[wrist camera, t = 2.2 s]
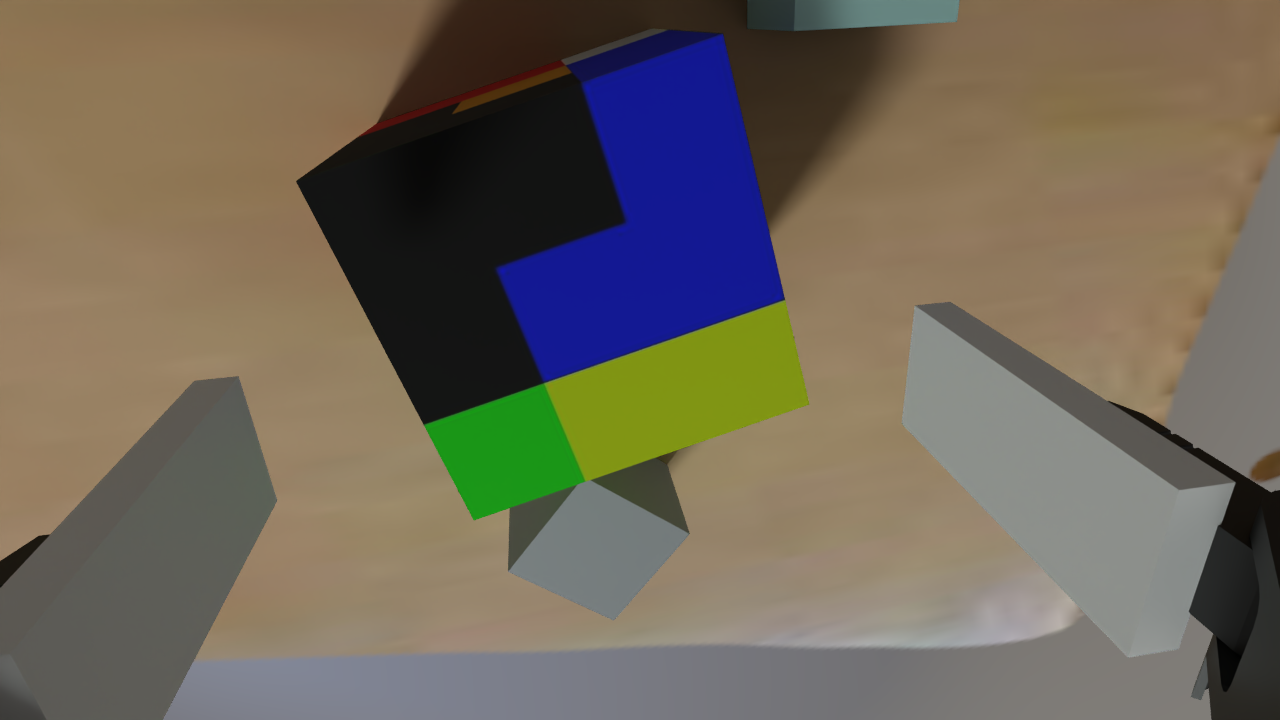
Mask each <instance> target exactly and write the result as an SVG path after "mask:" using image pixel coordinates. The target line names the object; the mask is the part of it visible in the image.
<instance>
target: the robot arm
mask: <svg viewBox="0 0 1280 720" xmlns="http://www.w3.org/2000/svg"><path fill="white" fill-rule="evenodd" d="M902 424H903V425H904V427H905V428H906V429H907V430H908V431H909V432H910V433H911V434H912V435H913V436H914V437H915V438H916V439H917V440H918V441H919V442H920V443H921V444H922V445H923V446H924V447H925V448H926V449H927V450H928V451H929V452H930V453H931V454H932V455H933V457H934V458H935V459H936V460H937V461H938V462H939V463H940V464H941V465H942V466H943V467H944V468H945V469H946V470H947V471H948V472H949V473H950V474H951V475H952V476H953V477H954V478H955V479H956V480H957V481H958V482H959V483H960V484H961V485H962V487H963V488H964V489H965V490H966V491H967V492H968V493H969V494H970V495H971V496H972V497H973V498H974V499H975V500H976V501H977V502H978V503H979V504H980V505H981V506H982V507H983V508H984V509H985V510H986V511H987V512H988V513H989V514H990V515H991V516H992V518H993V519H994V520H995V521H996V522H997V523H998V524H999V525H1000V526H1001V527H1002V528H1003V529H1004V530H1005V531H1006V532H1007V533H1008V534H1009V535H1010V536H1011V537H1012V538H1013V539H1014V540H1015V541H1016V542H1017V543H1018V544H1019V545H1020V546H1021V548H1022V549H1023V550H1024V551H1025V552H1026V553H1027V554H1028V555H1029V556H1030V557H1031V558H1032V559H1033V560H1034V561H1035V562H1036V563H1037V564H1038V565H1039V566H1040V567H1041V568H1042V569H1043V570H1044V571H1045V572H1046V573H1047V574H1048V575H1049V576H1050V578H1051V579H1052V580H1053V581H1054V582H1055V583H1056V584H1057V585H1058V586H1059V587H1060V588H1061V589H1062V590H1063V591H1064V592H1065V593H1066V594H1067V595H1068V596H1069V597H1070V598H1071V599H1072V600H1073V601H1074V602H1075V603H1076V604H1077V605H1078V606H1079V608H1080V609H1081V610H1082V611H1083V612H1084V613H1085V614H1086V615H1087V616H1088V617H1089V618H1090V619H1091V620H1092V621H1093V622H1094V623H1095V624H1096V625H1097V626H1098V627H1099V628H1100V629H1101V630H1102V631H1103V632H1104V633H1105V634H1106V635H1107V636H1108V638H1109V639H1111V641H1112V642H1113V643H1114V644H1115V645H1116V646H1117V647H1118V648H1119V649H1120V650H1121V651H1122V652H1123V653H1124V654H1125V655H1126V656H1127V657H1128V658H1129V657H1135V656H1140V655H1147V654H1153V653H1159V652H1165V651H1171V650H1177V649H1179V646H1180V643H1181V640H1182V637H1183V635H1184V632H1185V629H1186V626H1187V623H1188V619H1189V617H1190V614H1191V615H1193V616H1194V617H1195V618H1196V619H1197V620H1198V621H1200V622H1201V623H1202V624H1203V625H1204V626H1205V627H1207V628H1208V629H1209V630H1210V631H1211V632H1212V633H1213V636H1212V639H1211V642H1210V645H1209V648H1208V650H1207V653H1206V656H1205V658H1204V661H1203V664H1202V666H1201V669H1200V672H1199V675H1198V678H1197V680H1196V683H1195V686H1194V689H1193V692H1192V696H1191V697H1193V698H1196V699H1199V700H1201V699H1202V696H1203V693H1204V691H1205V690H1206V689H1208V688H1209V695H1210V707H1211V719H1212V720H1280V490H1278V491H1274V492H1269V491H1268V490H1266V489H1264V488H1263V487H1261V486H1260V485H1258V484H1256V483H1255V482H1253V481H1252V480H1250V479H1248V478H1246V477H1245V476H1243V475H1242V474H1240V473H1238V472H1237V471H1235V470H1233V469H1232V468H1230V467H1229V466H1227V465H1226V464H1224V463H1222V462H1221V461H1219V460H1217V459H1216V458H1214V457H1213V456H1211V455H1209V454H1208V453H1206V452H1204V451H1203V450H1201V449H1200V448H1193V444H1191V443H1190V442H1188V441H1187V440H1185V439H1183V438H1182V437H1180V436H1178V435H1176V434H1171V431H1170V430H1169V429H1167V428H1165V427H1164V426H1162V425H1161V424H1159V423H1157V422H1156V421H1154V420H1153V419H1151V418H1149V417H1148V416H1146V415H1144V414H1142V413H1139V412H1137V411H1134V410H1132V409H1129V408H1126V407H1124V406H1121V405H1118V404H1116V403H1113V402H1110V401H1106V400H1105V399H1103V398H1101V397H1100V396H1098V395H1097V394H1095V393H1094V392H1092V391H1090V390H1089V389H1087V388H1086V387H1084V386H1083V385H1081V384H1079V383H1078V382H1076V381H1075V380H1073V379H1071V378H1070V377H1068V376H1067V375H1065V374H1064V373H1062V372H1060V371H1059V370H1057V369H1056V368H1054V367H1052V366H1051V365H1049V364H1048V363H1046V362H1045V361H1043V360H1041V359H1040V358H1038V357H1037V356H1035V355H1034V354H1032V353H1030V352H1029V351H1027V350H1026V349H1024V348H1022V347H1021V346H1019V345H1018V344H1016V343H1015V342H1013V341H1011V340H1010V339H1008V338H1007V337H1005V336H1003V335H1002V334H1000V333H999V332H997V331H996V330H994V329H992V328H991V327H989V326H988V325H986V324H984V323H983V322H981V321H980V320H978V319H977V318H975V317H973V316H972V315H970V314H969V313H967V312H966V311H964V310H962V309H961V308H959V307H958V306H956V305H954V304H953V303H951V302H945V303H935V304H925V305H916V306H915V309H914V318H913V327H912V336H911V345H910V354H909V363H908V372H907V381H906V390H905V399H904V408H903V417H902ZM276 502H277V498H276V495H275V492H274V489H273V486H272V482H271V479H270V476H269V473H268V470H267V466H266V463H265V460H264V457H263V453H262V450H261V447H260V444H259V441H258V437H257V434H256V431H255V428H254V425H253V421H252V418H251V415H250V412H249V409H248V405H247V402H246V399H245V396H244V393H243V389H242V386H241V383H240V380H239V376H236V377H227V378H217V379H208V380H198V381H194V382H193V383H192V384H191V385H190V386H189V387H188V388H187V389H186V390H185V391H184V393H183V394H182V395H181V396H180V397H179V398H178V399H177V400H176V401H175V402H174V403H173V404H172V405H171V406H170V407H169V409H168V410H167V411H166V412H165V413H164V414H163V415H162V416H161V417H160V418H159V419H158V420H157V421H156V422H155V423H154V425H153V426H152V427H151V428H150V429H149V430H148V431H147V432H146V433H145V434H144V435H143V436H142V437H141V438H140V439H139V441H138V442H137V443H136V444H135V445H134V446H133V447H132V448H131V449H130V450H129V451H128V452H127V453H126V454H125V455H124V457H123V458H122V459H121V460H120V461H119V462H118V463H117V464H116V465H115V466H114V467H113V468H112V469H111V470H110V471H109V473H108V474H107V475H106V476H105V477H104V478H103V479H102V480H101V481H100V482H99V483H98V484H97V485H96V486H95V487H94V489H93V490H92V491H91V492H90V493H89V494H88V495H87V496H86V497H85V498H84V499H83V500H82V501H81V502H80V503H79V505H78V506H77V507H76V508H75V509H74V510H73V511H72V512H71V513H70V514H69V515H68V516H67V517H66V518H65V519H64V521H63V522H62V523H61V524H60V525H59V526H58V527H57V528H56V529H55V530H54V531H53V532H52V533H51V534H50V535H42V536H38V537H36V538H35V539H33V540H32V541H30V542H29V543H27V544H26V545H24V546H23V547H21V548H20V549H18V550H17V551H15V552H14V553H12V554H10V555H9V556H7V557H6V558H4V559H3V560H1V561H0V720H163V718H164V716H165V715H166V713H167V711H168V709H169V707H170V705H171V703H172V701H173V699H174V697H175V695H176V693H177V691H178V690H179V688H180V686H181V684H182V682H183V680H184V678H185V676H186V674H187V672H188V670H189V669H190V666H191V665H192V663H193V661H194V659H195V657H196V655H197V653H198V651H199V649H200V647H201V646H202V644H203V642H204V640H205V638H206V636H207V634H208V632H209V630H210V628H211V626H212V625H213V623H214V621H215V619H216V617H217V615H218V613H219V611H220V609H221V607H222V605H223V603H224V602H225V600H226V598H227V596H228V594H229V592H230V590H231V588H232V586H233V584H234V582H235V580H236V579H237V577H238V575H239V573H240V571H241V569H242V567H243V565H244V563H245V561H246V559H247V557H248V556H249V554H250V552H251V550H252V548H253V546H254V544H255V542H256V540H257V538H258V536H259V534H260V533H261V531H262V529H263V527H264V525H265V523H266V521H267V519H268V517H269V515H270V513H271V511H272V510H273V508H274V506H275V504H276Z"/></svg>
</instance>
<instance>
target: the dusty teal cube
mask: <svg viewBox="0 0 1280 720" xmlns="http://www.w3.org/2000/svg"><path fill="white" fill-rule="evenodd" d="M958 8H959V0H747V29H762V30H782V31H804V30H822V29H839V28H857V27H874V26H892V25H909V24H927V23H944V22H957V16H958Z"/></svg>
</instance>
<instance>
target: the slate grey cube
mask: <svg viewBox="0 0 1280 720" xmlns="http://www.w3.org/2000/svg"><path fill="white" fill-rule="evenodd" d="M689 534H690V533H689V530H688V527H687V524H686V521H685V518H684V515H683V512H682V509H681V506H680V503H679V499H678V496H677V493H676V490H675V487H674V484H673V481H672V478H671V475H670V472H669V469H668V466H667V464H665V463H663V462H662V461H660V460H658V459H656V458H653V459H650V460H647V461H644V462H641V463H638V464H636V465H633V466H630V467H627V468H624V469H621V470H618V471H615V472H612V473H610V474H607V475H604V476H601V477H598V478H595V479H592V480H589V481H586V482H584V483H581V484H578V485H575V486H572V487H569V488H566V489H563V490H560V491H557V492H555V493H552V494H549V495H546V496H543V497H540V498H537V499H534V500H531V501H529V502H526V503H523V504H520V505H517V506H514V507H511V508H510V518H509V556H508V572H510V573H512V574H514V575H516V576H519V577H521V578H523V579H525V580H527V581H529V582H532V583H534V584H536V585H538V586H540V587H542V588H545V589H547V590H549V591H551V592H553V593H555V594H558V595H560V596H562V597H564V598H566V599H568V600H571V601H573V602H575V603H577V604H579V605H581V606H584V607H586V608H588V609H590V610H592V611H594V612H597V613H599V614H601V615H603V616H605V617H607V618H610V619H612V620H615V619H616V617H617V616H618V615H619V614H620V613H621V612H622V611H623V609H624V608H625V607H626V606H627V605H628V604H629V603H630V601H631V600H632V599H633V598H634V597H635V596H636V595H637V593H638V592H639V591H640V590H641V589H642V588H643V587H644V586H645V584H646V583H647V582H648V581H649V580H650V579H651V578H652V576H653V575H654V574H655V573H656V572H657V571H658V570H659V568H660V567H661V566H662V565H663V564H664V563H665V562H666V560H667V559H668V558H669V557H670V556H671V555H672V554H673V552H674V551H675V550H676V549H677V548H678V547H679V546H680V544H681V543H682V542H683V541H684V540H685V539H686V538H687V536H688V535H689Z"/></svg>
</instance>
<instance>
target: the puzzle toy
mask: <svg viewBox="0 0 1280 720" xmlns="http://www.w3.org/2000/svg"><path fill="white" fill-rule="evenodd" d="M296 182H297V184H298V186H299V188H300V190H301V192H302V194H303V195H304V197H305V199H306V201H307V203H308V205H309V207H310V209H311V211H312V213H313V215H314V216H315V218H316V220H317V222H318V224H319V226H320V228H321V230H322V232H323V234H324V235H325V237H326V239H327V241H328V243H329V245H330V247H331V249H332V251H333V253H334V255H335V256H336V258H337V260H338V262H339V264H340V266H341V268H342V270H343V272H344V274H345V276H346V277H347V279H348V281H349V283H350V285H351V287H352V289H353V291H354V293H355V295H356V297H357V298H358V300H359V302H360V304H361V306H362V308H363V310H364V312H365V314H366V316H367V317H368V319H369V321H370V323H371V325H372V327H373V329H374V331H375V333H376V335H377V337H378V338H379V340H380V342H381V344H382V346H383V348H384V350H385V352H386V354H387V356H388V358H389V359H390V361H391V363H392V365H393V367H394V369H395V371H396V373H397V375H398V377H399V379H400V380H401V382H402V384H403V386H404V388H405V390H406V392H407V394H408V396H409V398H410V399H411V401H412V403H413V405H414V407H415V409H416V411H417V413H418V415H419V417H420V419H421V420H422V422H423V424H424V426H425V428H426V430H427V432H428V434H429V436H430V438H431V440H432V441H433V443H434V445H435V447H436V449H437V451H438V453H439V455H440V457H441V459H442V460H443V462H444V464H445V466H446V468H447V470H448V472H449V474H450V476H451V478H452V480H453V481H454V483H455V485H456V487H457V489H458V491H459V493H460V495H461V497H462V499H463V501H464V502H465V504H466V506H467V508H468V510H469V512H470V514H471V516H472V518H473V520H476V519H479V518H482V517H485V516H488V515H491V514H494V513H497V512H500V511H502V510H505V509H508V508H511V507H514V506H517V505H520V504H523V503H526V502H529V501H531V500H534V499H537V498H540V497H543V496H546V495H549V494H552V493H555V492H557V491H560V490H563V489H566V488H569V487H572V486H575V485H578V484H581V483H584V482H586V481H589V480H592V479H595V478H598V477H601V476H604V475H607V474H610V473H612V472H615V471H618V470H621V469H624V468H627V467H630V466H633V465H636V464H638V463H641V462H644V461H647V460H650V459H653V458H656V457H659V456H662V455H665V454H667V453H670V452H673V451H676V450H679V449H682V448H685V447H688V446H691V445H693V444H696V443H699V442H702V441H705V440H708V439H711V438H714V437H717V436H720V435H722V434H725V433H728V432H731V431H734V430H737V429H740V428H743V427H746V426H748V425H751V424H754V423H757V422H760V421H763V420H766V419H769V418H772V417H775V416H777V415H780V414H783V413H786V412H789V411H792V410H795V409H798V408H801V407H803V406H806V405H809V401H808V396H807V392H806V388H805V383H804V379H803V375H802V371H801V366H800V362H799V358H798V353H797V349H796V345H795V341H794V336H793V332H792V328H791V323H790V319H789V315H788V310H787V306H786V302H785V298H784V293H783V289H782V285H781V280H780V276H779V272H778V268H777V263H776V259H775V255H774V250H773V246H772V242H771V238H770V233H769V229H768V225H767V220H766V216H765V212H764V207H763V203H762V199H761V195H760V190H759V186H758V182H757V177H756V173H755V169H754V165H753V160H752V156H751V152H750V147H749V143H748V139H747V135H746V130H745V126H744V122H743V117H742V113H741V109H740V104H739V100H738V96H737V92H736V87H735V83H734V79H733V74H732V70H731V66H730V62H729V57H728V53H727V49H726V44H725V40H724V36H723V33H710V32H696V31H682V30H668V29H654V28H652V29H649V30H646V31H643V32H640V33H637V34H634V35H631V36H629V37H626V38H623V39H620V40H617V41H614V42H611V43H608V44H605V45H603V46H600V47H597V48H594V49H591V50H588V51H585V52H582V53H579V54H577V55H574V56H571V57H568V58H565V59H562V60H559V61H556V62H553V63H551V64H548V65H545V66H542V67H539V68H536V69H533V70H530V71H527V72H525V73H522V74H519V75H516V76H513V77H510V78H507V79H504V80H501V81H499V82H496V83H493V84H490V85H487V86H484V87H481V88H478V89H475V90H473V91H470V92H467V93H464V94H461V95H458V96H455V97H452V98H449V99H447V100H444V101H441V102H438V103H435V104H432V105H429V106H426V107H423V108H421V109H418V110H415V111H412V112H409V113H406V114H403V115H400V116H397V117H395V118H392V119H389V120H386V121H383V122H380V123H377V124H375V125H374V126H373V127H371V128H370V129H368V130H367V131H366V132H364V133H363V134H361V135H360V136H359V137H357V138H356V139H354V140H353V141H352V142H350V143H349V144H347V145H346V146H345V147H343V148H342V149H340V150H339V151H338V152H336V153H335V154H333V155H332V156H331V157H329V158H328V159H326V160H325V161H324V162H322V163H321V164H319V165H318V166H317V167H315V168H314V169H312V170H311V171H310V172H308V173H307V174H305V175H304V176H303V177H301V178H300V179H298V180H297V181H296Z"/></svg>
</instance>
